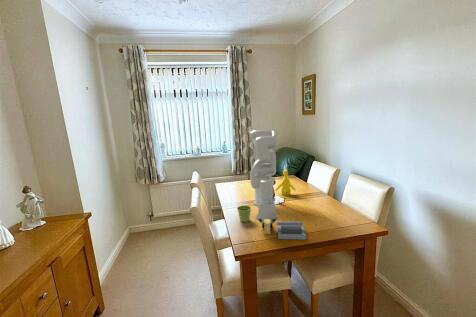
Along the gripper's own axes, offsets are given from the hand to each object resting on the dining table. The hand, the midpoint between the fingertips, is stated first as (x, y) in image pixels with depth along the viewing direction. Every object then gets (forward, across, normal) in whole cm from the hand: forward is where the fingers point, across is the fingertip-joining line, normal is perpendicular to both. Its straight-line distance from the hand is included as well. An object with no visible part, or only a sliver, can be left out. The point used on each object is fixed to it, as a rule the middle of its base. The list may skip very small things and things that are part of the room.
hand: (267, 228), depth 139 cm
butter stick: (0, 0, 0) cm, 0 cm away
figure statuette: (+1, -15, -62) cm, 64 cm away
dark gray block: (-1, -13, +7) cm, 15 cm away
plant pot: (+1, +15, -12) cm, 19 cm away
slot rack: (0, -14, +2) cm, 14 cm away
